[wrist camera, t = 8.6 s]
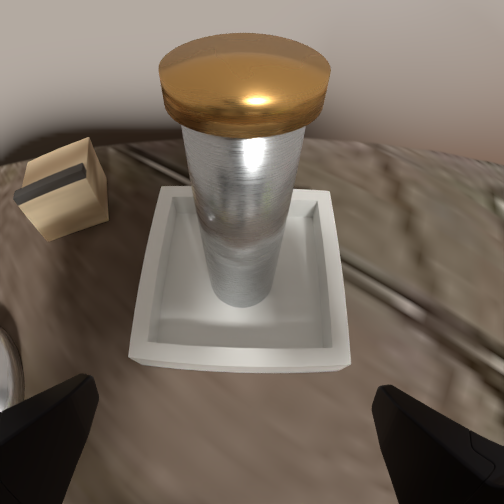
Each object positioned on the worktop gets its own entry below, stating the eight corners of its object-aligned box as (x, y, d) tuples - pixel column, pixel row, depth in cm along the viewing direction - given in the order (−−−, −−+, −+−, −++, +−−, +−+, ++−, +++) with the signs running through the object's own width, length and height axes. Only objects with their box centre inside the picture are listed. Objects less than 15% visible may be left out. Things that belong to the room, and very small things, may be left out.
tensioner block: (108, 220, 22) (82, 169, 17) (47, 242, 21) (13, 198, 16) (106, 178, 25) (85, 129, 20) (51, 199, 23) (24, 155, 18)
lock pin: (242, 329, 18) (245, 122, 5) (188, 278, 19) (128, 66, 7) (294, 277, 20) (360, 67, 7) (241, 233, 21) (244, 25, 9)
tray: (337, 371, 17) (350, 364, 15) (141, 364, 17) (128, 357, 15) (322, 212, 23) (329, 191, 21) (167, 207, 23) (161, 186, 21)
